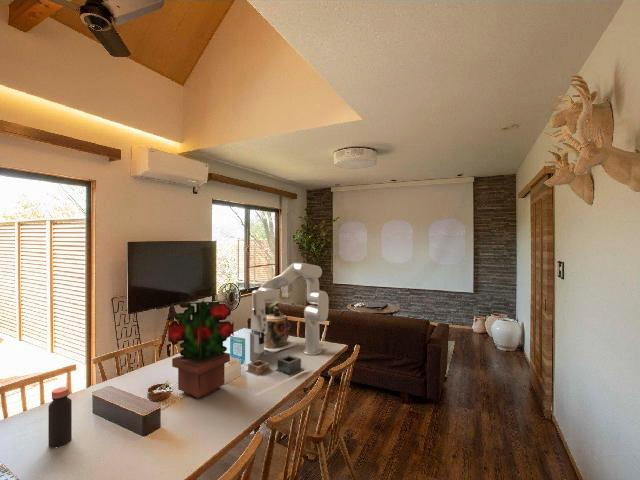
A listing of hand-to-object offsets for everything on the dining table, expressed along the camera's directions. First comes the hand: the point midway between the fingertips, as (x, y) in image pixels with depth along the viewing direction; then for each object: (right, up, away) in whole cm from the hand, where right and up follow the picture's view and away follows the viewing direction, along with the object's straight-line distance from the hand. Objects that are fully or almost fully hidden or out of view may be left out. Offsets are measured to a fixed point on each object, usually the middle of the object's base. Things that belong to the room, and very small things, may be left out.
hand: (258, 342), depth 184 cm
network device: (-6, -17, +23) cm, 30 cm away
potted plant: (-25, -17, -23) cm, 38 cm away
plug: (0, -5, 0) cm, 5 cm away
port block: (+17, -17, +1) cm, 24 cm away
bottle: (-63, -17, -64) cm, 91 cm away
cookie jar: (+3, -17, +47) cm, 50 cm away
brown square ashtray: (0, -17, 0) cm, 17 cm away
